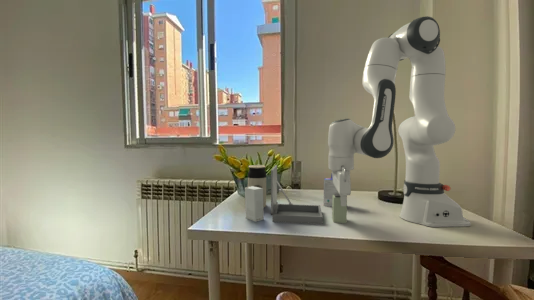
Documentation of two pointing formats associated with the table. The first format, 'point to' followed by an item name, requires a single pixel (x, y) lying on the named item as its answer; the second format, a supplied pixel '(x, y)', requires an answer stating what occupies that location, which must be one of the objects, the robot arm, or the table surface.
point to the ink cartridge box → (329, 191)
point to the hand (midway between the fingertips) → (341, 202)
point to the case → (292, 207)
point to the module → (338, 210)
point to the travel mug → (258, 179)
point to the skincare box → (254, 203)
